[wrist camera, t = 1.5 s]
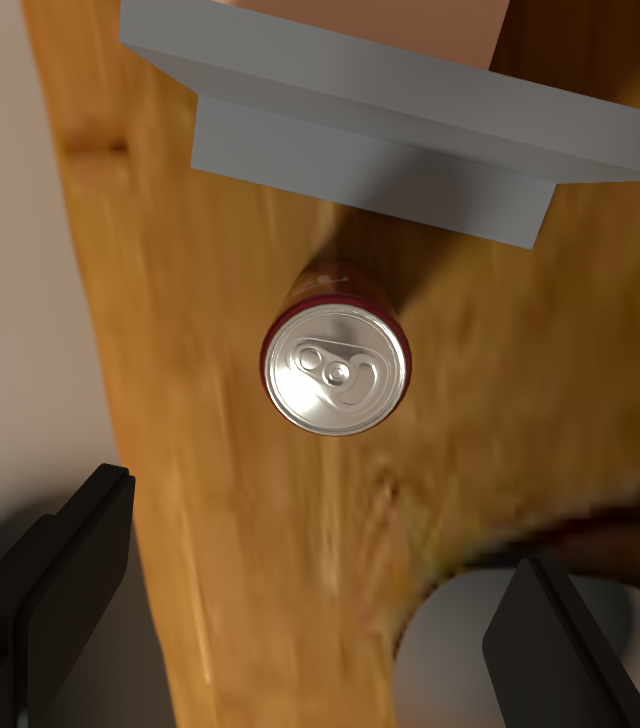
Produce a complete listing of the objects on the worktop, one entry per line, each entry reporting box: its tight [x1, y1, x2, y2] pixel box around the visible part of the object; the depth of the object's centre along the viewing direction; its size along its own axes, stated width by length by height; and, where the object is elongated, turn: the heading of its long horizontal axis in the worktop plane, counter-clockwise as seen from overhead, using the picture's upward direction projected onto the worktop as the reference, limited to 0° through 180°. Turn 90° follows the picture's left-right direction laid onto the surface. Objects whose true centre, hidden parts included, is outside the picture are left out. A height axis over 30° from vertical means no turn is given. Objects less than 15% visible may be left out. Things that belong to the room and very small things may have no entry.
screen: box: [119, 0, 640, 250], centre depth 23 cm, size 6×22×12 cm, turn 77°
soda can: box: [259, 260, 412, 437], centre depth 27 cm, size 7×7×12 cm
